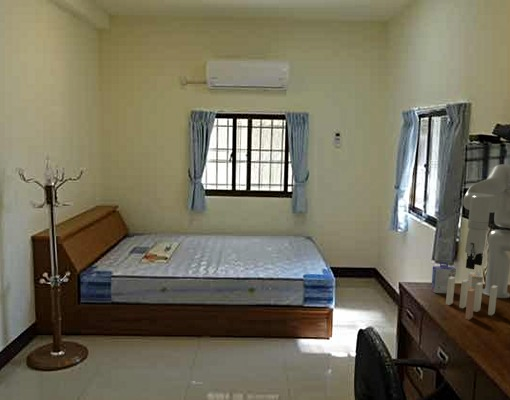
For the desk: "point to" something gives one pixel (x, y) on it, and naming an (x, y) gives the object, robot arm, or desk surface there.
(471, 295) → the domino
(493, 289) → the domino
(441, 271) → the ink cartridge box
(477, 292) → the domino
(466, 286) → the domino
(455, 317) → the desk surface
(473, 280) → the supplement box
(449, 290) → the domino
